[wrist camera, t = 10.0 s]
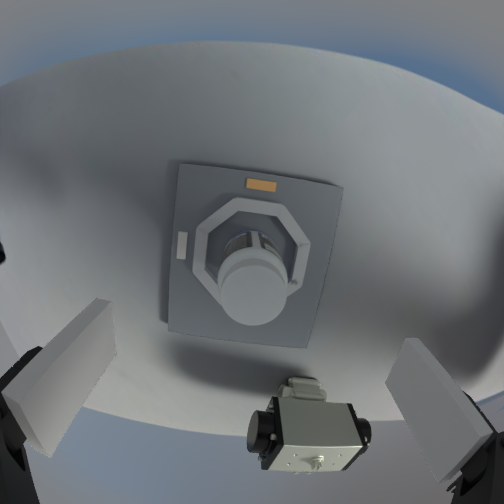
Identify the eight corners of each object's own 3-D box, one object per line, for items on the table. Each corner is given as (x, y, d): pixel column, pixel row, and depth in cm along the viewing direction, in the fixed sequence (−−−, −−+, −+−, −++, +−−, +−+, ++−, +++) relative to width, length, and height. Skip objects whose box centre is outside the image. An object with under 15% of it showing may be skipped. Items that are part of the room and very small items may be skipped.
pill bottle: (223, 280, 25) (212, 329, 17) (224, 228, 24) (212, 257, 16) (276, 282, 25) (288, 332, 17) (280, 230, 24) (297, 261, 16)
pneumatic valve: (256, 364, 29) (260, 453, 18) (350, 377, 30) (383, 453, 19) (244, 398, 31) (243, 481, 19) (332, 408, 32) (355, 481, 20)
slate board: (339, 186, 24) (347, 188, 22) (304, 341, 29) (308, 353, 26) (182, 163, 24) (176, 162, 21) (170, 325, 28) (165, 336, 26)
